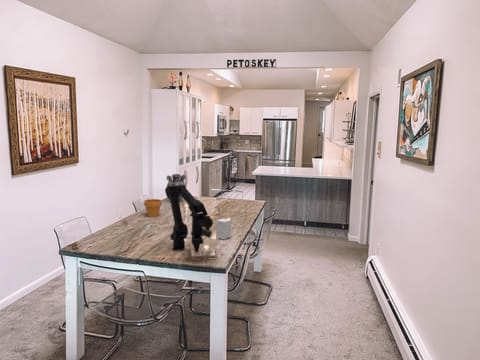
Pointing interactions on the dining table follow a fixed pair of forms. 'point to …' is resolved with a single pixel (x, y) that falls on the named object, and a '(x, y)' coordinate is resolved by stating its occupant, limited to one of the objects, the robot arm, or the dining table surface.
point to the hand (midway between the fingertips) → (196, 250)
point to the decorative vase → (176, 181)
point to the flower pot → (152, 207)
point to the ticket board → (205, 255)
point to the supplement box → (223, 228)
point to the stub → (196, 252)
